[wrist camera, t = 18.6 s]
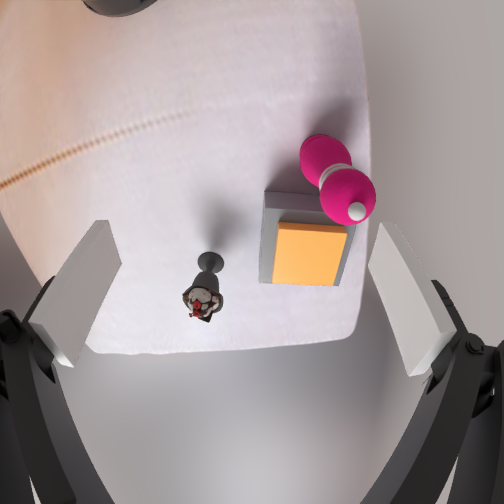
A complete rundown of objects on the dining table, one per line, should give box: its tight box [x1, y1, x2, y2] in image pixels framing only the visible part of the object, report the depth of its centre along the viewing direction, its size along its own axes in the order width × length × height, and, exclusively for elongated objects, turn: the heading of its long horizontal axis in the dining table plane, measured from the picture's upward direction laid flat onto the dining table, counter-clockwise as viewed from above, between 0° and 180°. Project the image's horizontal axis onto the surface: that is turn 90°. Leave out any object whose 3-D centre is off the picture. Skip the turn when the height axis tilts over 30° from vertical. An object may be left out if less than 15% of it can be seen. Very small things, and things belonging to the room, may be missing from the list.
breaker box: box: [259, 191, 356, 286], centre depth 47 cm, size 14×14×6 cm
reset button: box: [272, 222, 347, 286], centre depth 46 cm, size 10×10×7 cm
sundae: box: [183, 253, 224, 323], centre depth 48 cm, size 7×7×15 cm
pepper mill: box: [300, 135, 376, 225], centre depth 33 cm, size 7×7×20 cm
